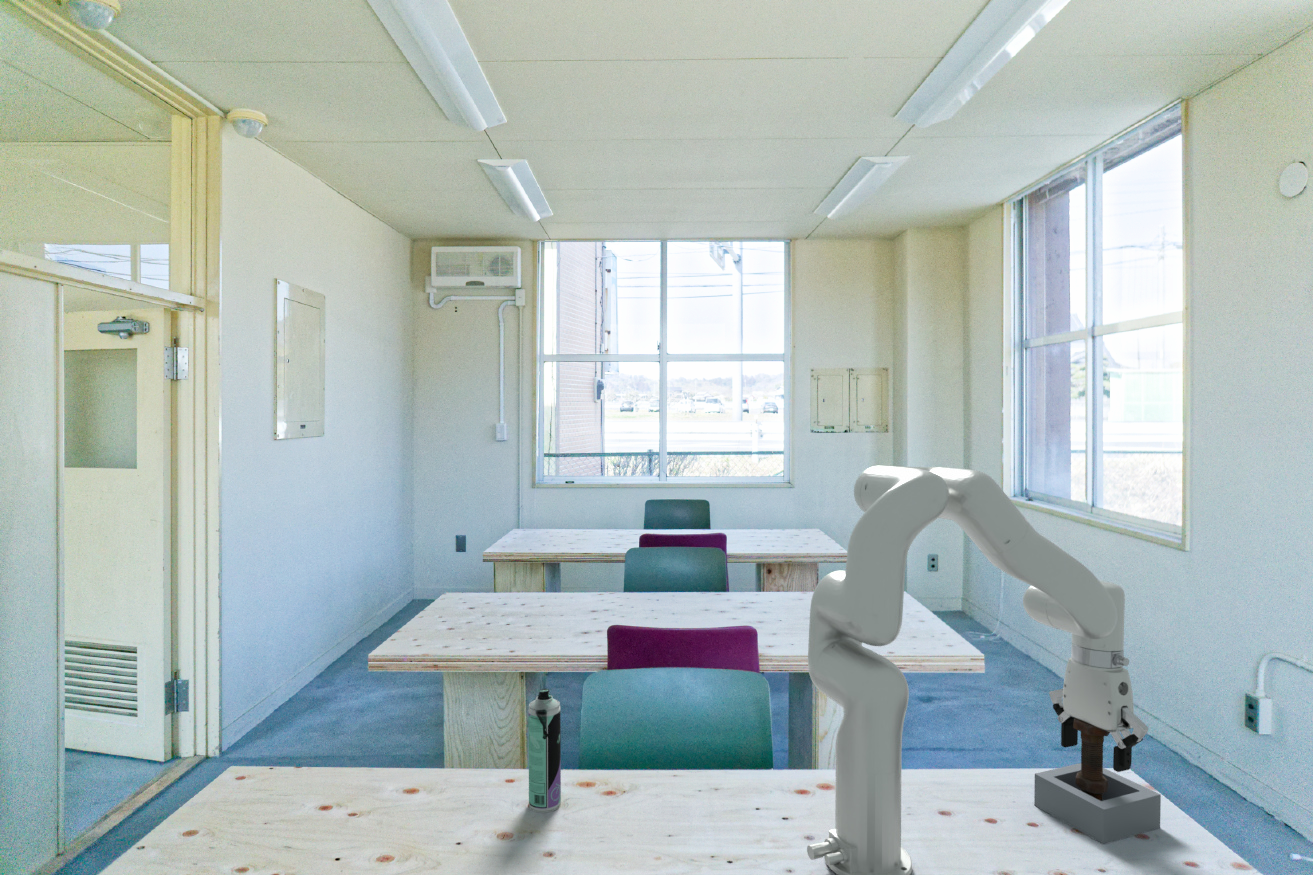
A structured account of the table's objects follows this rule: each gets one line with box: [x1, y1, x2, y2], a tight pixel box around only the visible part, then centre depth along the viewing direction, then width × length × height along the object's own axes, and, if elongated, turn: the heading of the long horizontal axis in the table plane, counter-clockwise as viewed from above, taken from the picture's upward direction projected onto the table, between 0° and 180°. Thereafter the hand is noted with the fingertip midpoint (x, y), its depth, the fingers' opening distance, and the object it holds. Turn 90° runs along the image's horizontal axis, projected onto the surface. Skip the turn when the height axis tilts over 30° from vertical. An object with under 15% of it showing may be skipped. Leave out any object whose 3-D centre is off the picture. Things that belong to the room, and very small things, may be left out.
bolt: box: [1073, 718, 1111, 801], centre depth 127 cm, size 6×5×15 cm
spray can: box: [527, 688, 562, 814], centre depth 131 cm, size 6×6×20 cm
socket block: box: [1033, 762, 1162, 845], centre depth 127 cm, size 13×13×6 cm
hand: (1094, 757), depth 127 cm, fingers open, 9 cm apart
